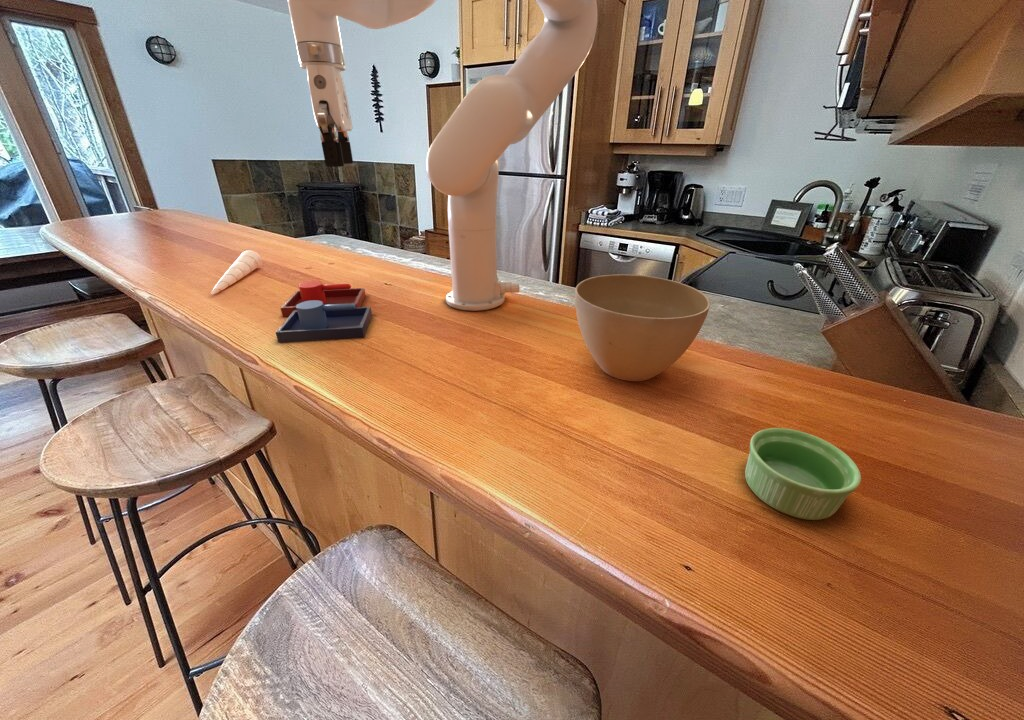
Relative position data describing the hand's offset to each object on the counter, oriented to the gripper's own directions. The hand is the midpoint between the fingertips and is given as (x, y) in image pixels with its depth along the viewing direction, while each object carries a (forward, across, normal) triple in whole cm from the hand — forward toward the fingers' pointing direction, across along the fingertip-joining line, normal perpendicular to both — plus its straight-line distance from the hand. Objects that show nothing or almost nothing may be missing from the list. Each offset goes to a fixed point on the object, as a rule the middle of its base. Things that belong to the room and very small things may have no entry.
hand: (340, 164), depth 81 cm
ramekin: (+26, -69, -52) cm, 90 cm away
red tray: (+26, -8, +6) cm, 28 cm away
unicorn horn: (+26, +14, +32) cm, 44 cm away
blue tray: (+26, -20, +3) cm, 33 cm away
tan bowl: (+26, -43, -46) cm, 68 cm away
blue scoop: (+26, -20, +3) cm, 33 cm away
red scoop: (+26, -8, +5) cm, 28 cm away
